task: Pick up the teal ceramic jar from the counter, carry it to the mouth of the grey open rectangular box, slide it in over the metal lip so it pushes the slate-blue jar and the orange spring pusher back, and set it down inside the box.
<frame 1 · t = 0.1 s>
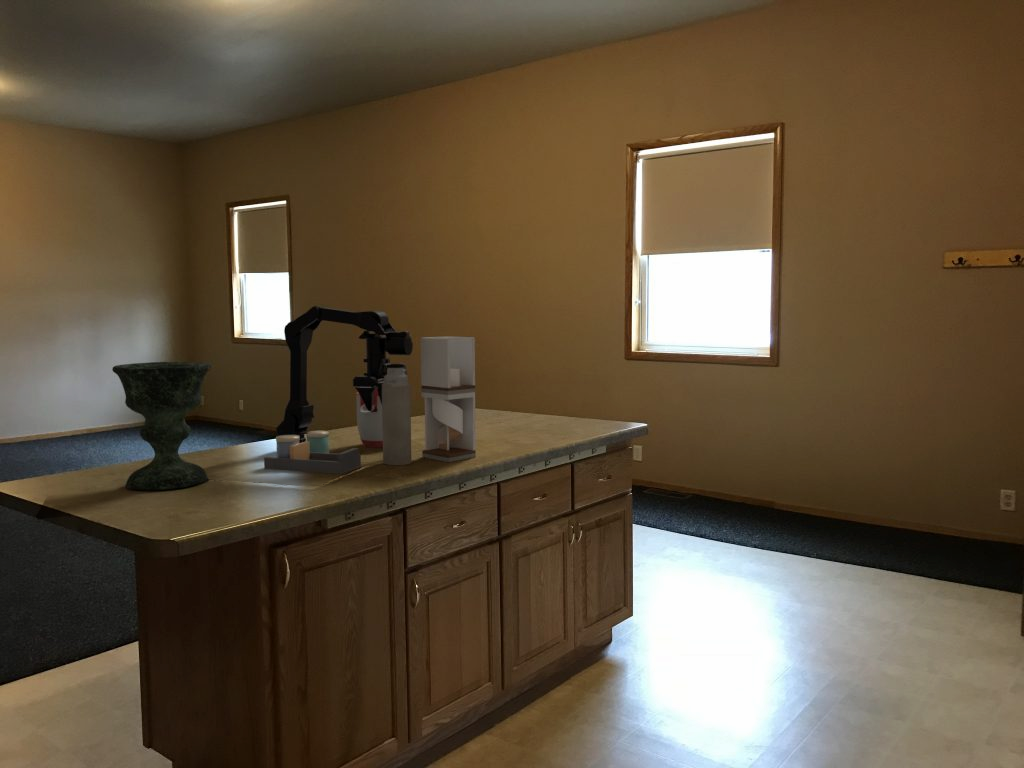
hand: (377, 408, 238), 15 cm above the worktop, fingers open, 9 cm apart
spiral ramp tower: (449, 457, 242), on the worktop
grey open rectangular box: (313, 470, 224), on the worktop
teal jar: (318, 459, 239), on the worktop
slate jar: (288, 465, 226), point 1 cm above the worktop, touching grey open rectangular box, pusher
goblet: (167, 484, 208), on the worktop
thermos bottle: (397, 463, 234), on the worktop
pusher: (299, 454, 224), point 4 cm above the worktop, slide at 6.0 cm, touching slate jar
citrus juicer: (380, 446, 262), on the worktop
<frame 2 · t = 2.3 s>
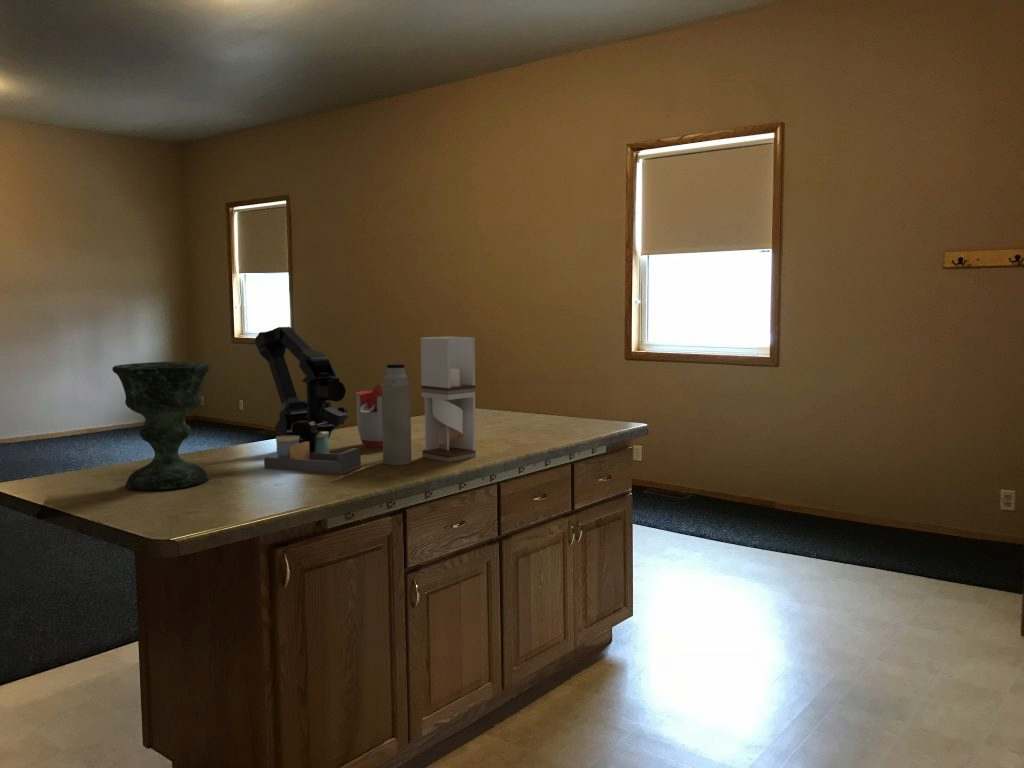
hand: (318, 452, 239), 2 cm above the worktop, fingers closed on teal jar, 6 cm apart
teal jar: (318, 459, 239), on the worktop, touching gripper
everything else where it was.
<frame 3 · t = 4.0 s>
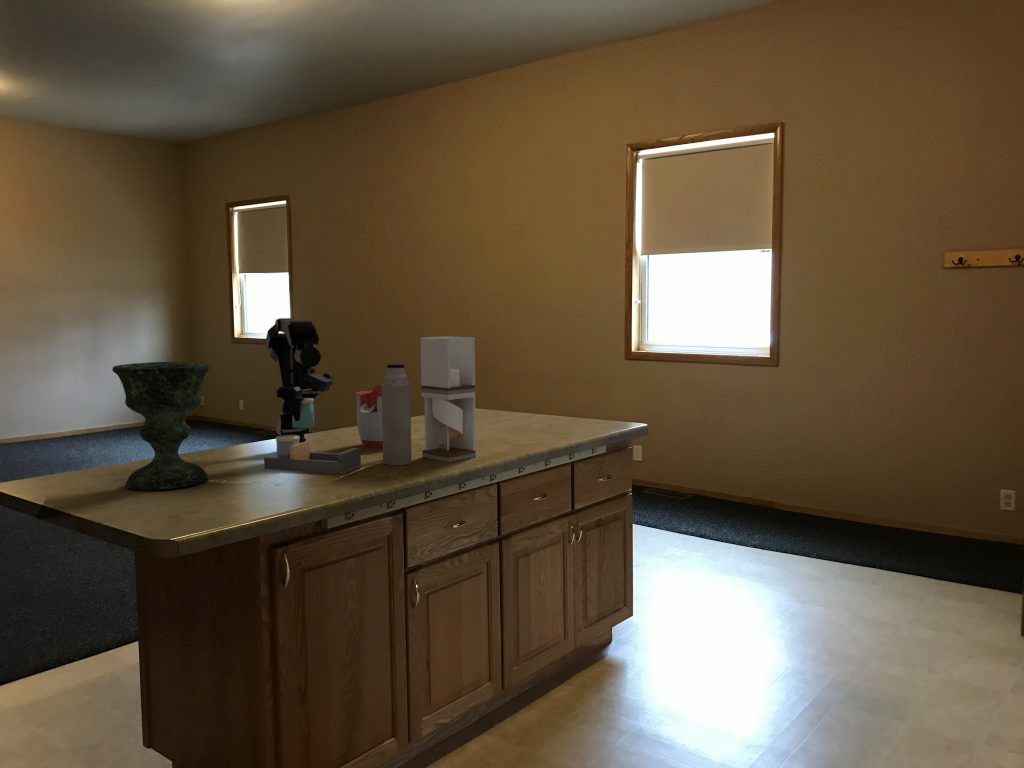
hand: (302, 419, 236), 12 cm above the worktop, fingers closed on teal jar, 6 cm apart
teal jar: (303, 426, 236), point 10 cm above the worktop, touching gripper
everything else where it was.
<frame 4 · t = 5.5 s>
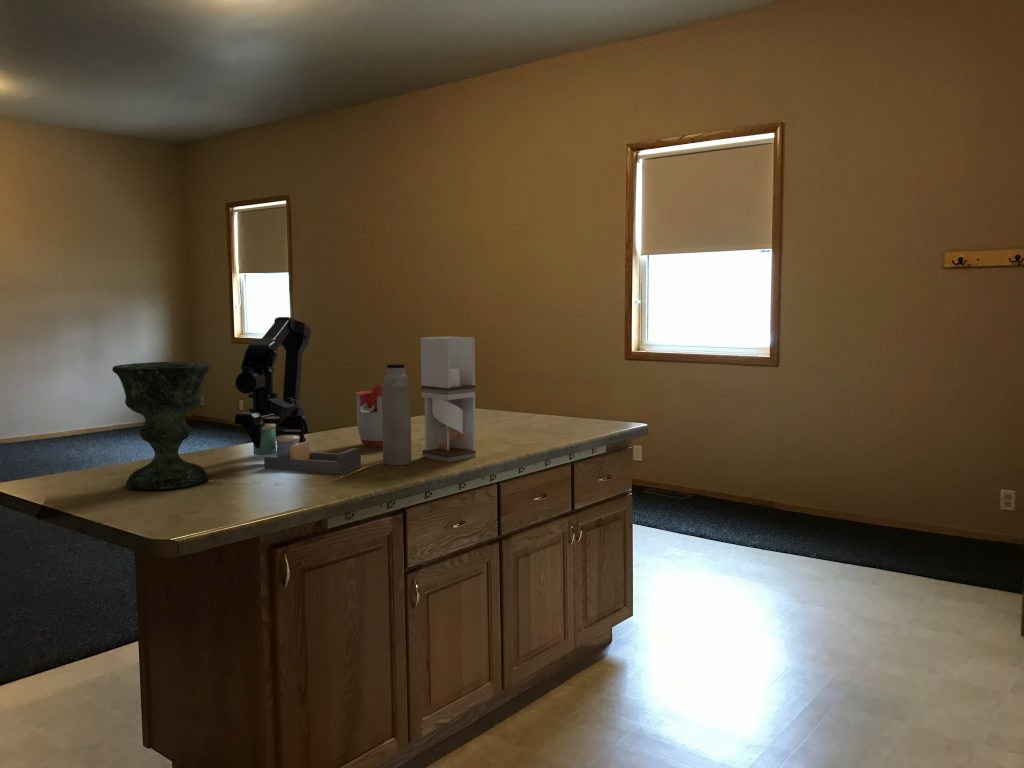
hand: (264, 445, 228), 6 cm above the worktop, fingers closed on teal jar, 6 cm apart
teal jar: (265, 453, 228), point 4 cm above the worktop, touching gripper
everything else where it was.
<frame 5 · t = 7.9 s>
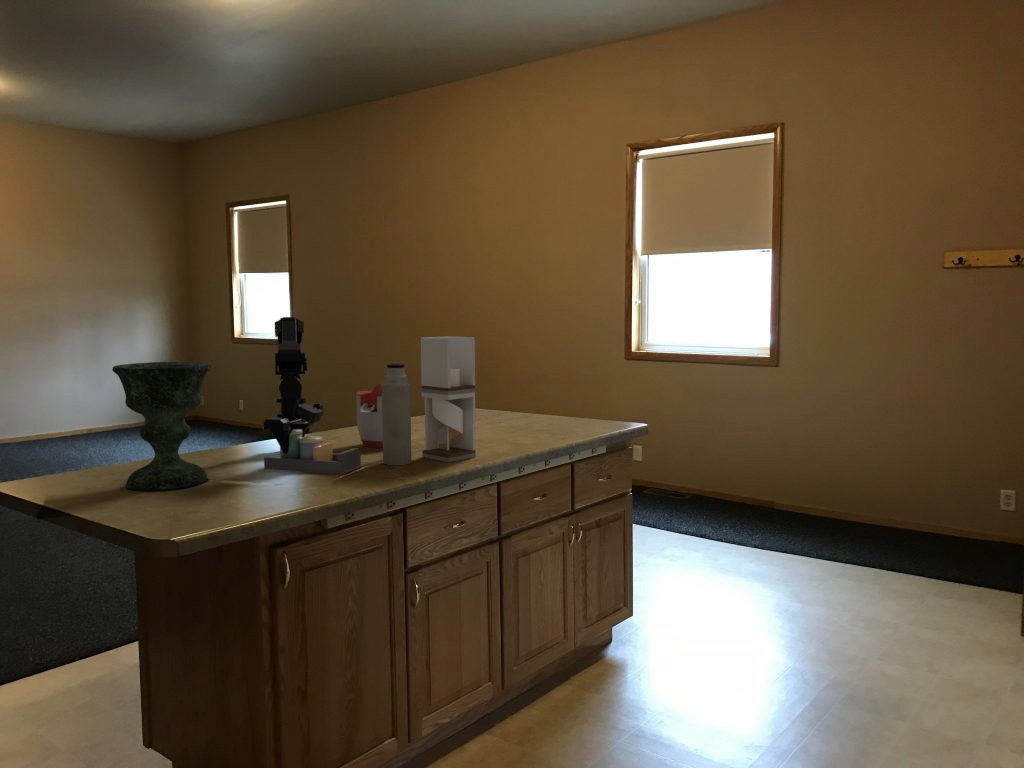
hand: (292, 451, 225), 5 cm above the worktop, fingers closed on teal jar, 6 cm apart
teal jar: (292, 459, 225), point 3 cm above the worktop, touching gripper, slate jar
slate jar: (311, 467, 224), point 1 cm above the worktop, touching pusher, teal jar
pusher: (323, 456, 222), point 4 cm above the worktop, slide at 13.0 cm, touching slate jar
everything else where it was.
when the fingers open (4 cm above the worktop, at t = 9.0 s): teal jar stays where it is, resting on grey open rectangular box, slate jar.
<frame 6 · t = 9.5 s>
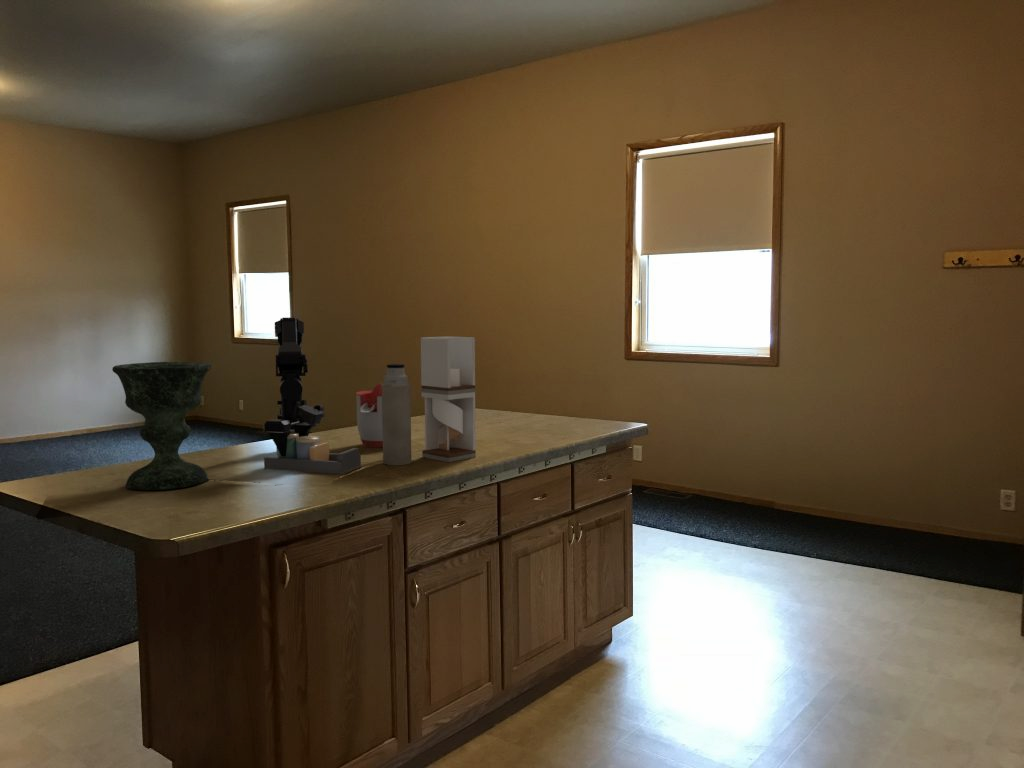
hand: (293, 453, 225), 4 cm above the worktop, fingers open, 9 cm apart
teal jar: (288, 463, 226), point 1 cm above the worktop, touching grey open rectangular box, slate jar
slate jar: (308, 466, 224), point 1 cm above the worktop, touching grey open rectangular box, pusher, teal jar
pusher: (319, 455, 223), point 4 cm above the worktop, slide at 12.0 cm, touching slate jar
everything else where it was.
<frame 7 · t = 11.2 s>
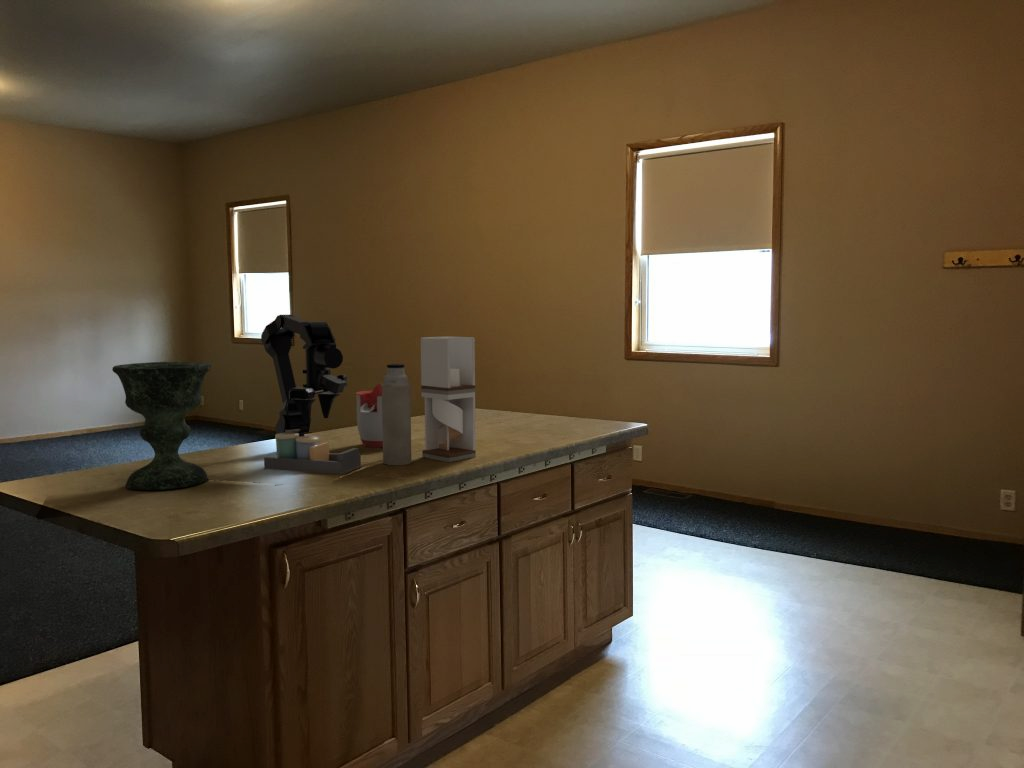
hand: (317, 420, 235), 12 cm above the worktop, fingers open, 9 cm apart
nothing on the worktop moved.
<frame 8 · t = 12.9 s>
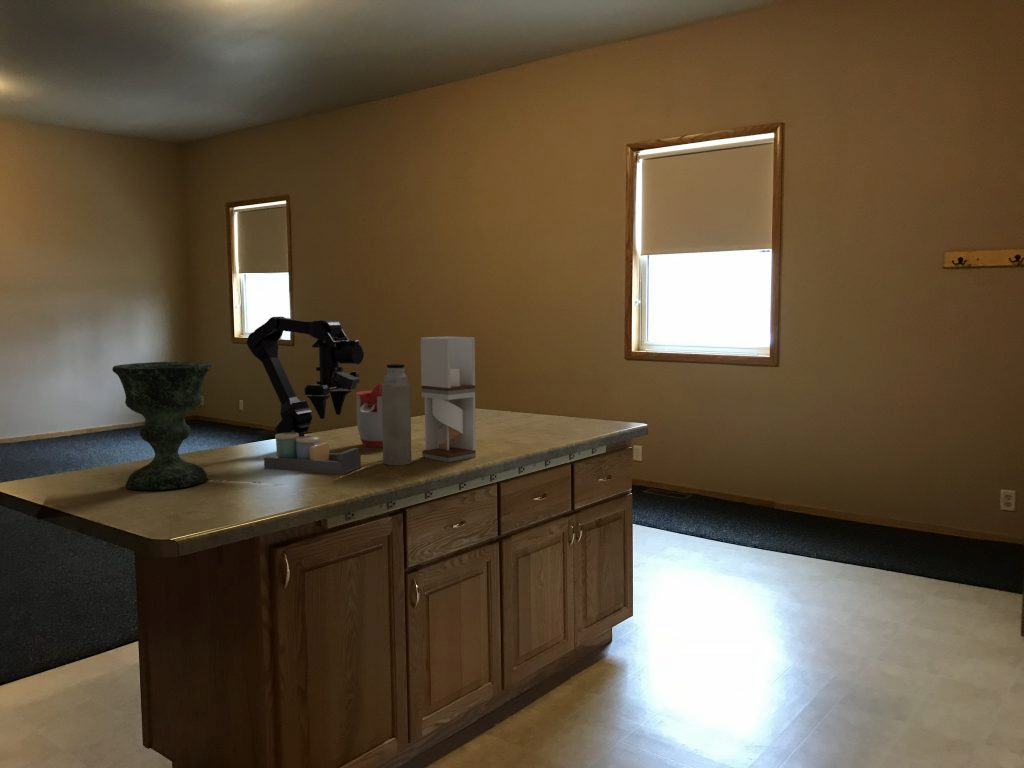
hand: (330, 416, 241), 12 cm above the worktop, fingers open, 9 cm apart
nothing on the worktop moved.
at the end: teal jar 1.0 cm from the target spot on the grey open rectangular box, point 1.5 cm above the grey open rectangular box's base; teal jar tilted 2°; pusher slide at 12.0 cm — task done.
